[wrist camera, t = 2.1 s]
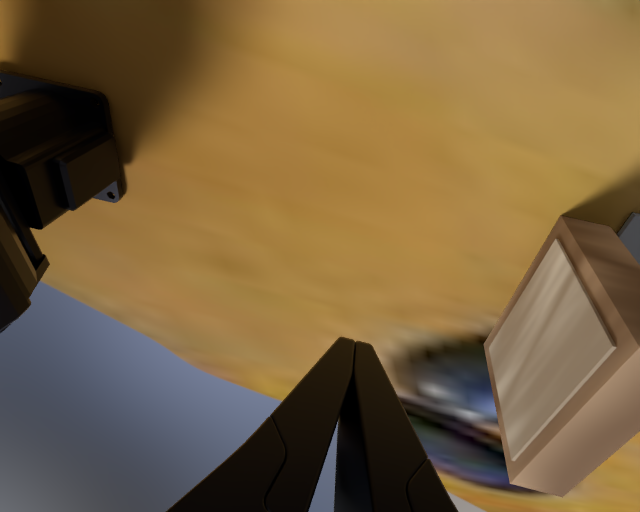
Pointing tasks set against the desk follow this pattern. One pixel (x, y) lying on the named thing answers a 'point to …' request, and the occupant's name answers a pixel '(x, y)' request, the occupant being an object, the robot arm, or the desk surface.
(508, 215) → the desk surface
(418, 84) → the desk surface
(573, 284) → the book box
